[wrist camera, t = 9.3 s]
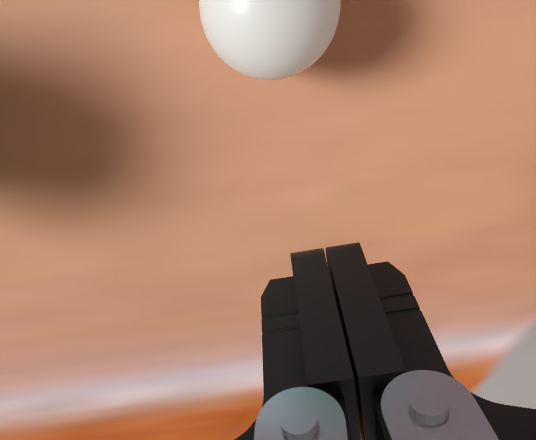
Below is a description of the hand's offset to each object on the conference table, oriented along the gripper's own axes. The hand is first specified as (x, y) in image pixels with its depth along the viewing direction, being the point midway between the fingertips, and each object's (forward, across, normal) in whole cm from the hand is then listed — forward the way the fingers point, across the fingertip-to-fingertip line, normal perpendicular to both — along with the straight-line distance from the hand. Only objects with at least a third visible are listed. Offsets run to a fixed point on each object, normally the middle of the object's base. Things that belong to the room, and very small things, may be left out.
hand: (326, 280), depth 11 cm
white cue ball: (+12, 0, -4) cm, 13 cm away
